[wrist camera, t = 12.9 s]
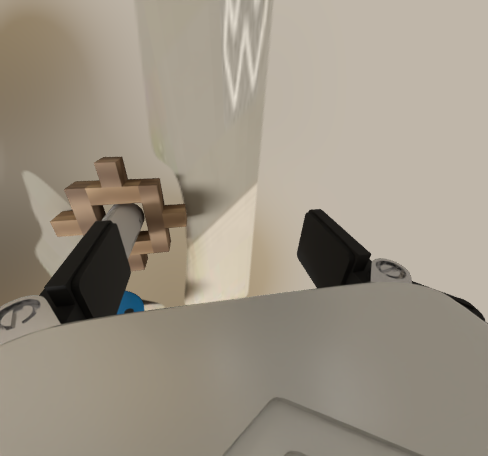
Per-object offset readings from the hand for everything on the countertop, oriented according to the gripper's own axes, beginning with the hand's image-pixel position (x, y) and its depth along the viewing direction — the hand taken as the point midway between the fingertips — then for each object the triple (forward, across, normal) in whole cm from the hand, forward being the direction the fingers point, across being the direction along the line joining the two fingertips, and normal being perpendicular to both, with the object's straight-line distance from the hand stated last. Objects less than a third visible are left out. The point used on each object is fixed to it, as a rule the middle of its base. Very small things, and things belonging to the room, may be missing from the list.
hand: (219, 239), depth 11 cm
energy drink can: (+32, +15, +14) cm, 38 cm away
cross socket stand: (+32, +15, +14) cm, 38 cm away
